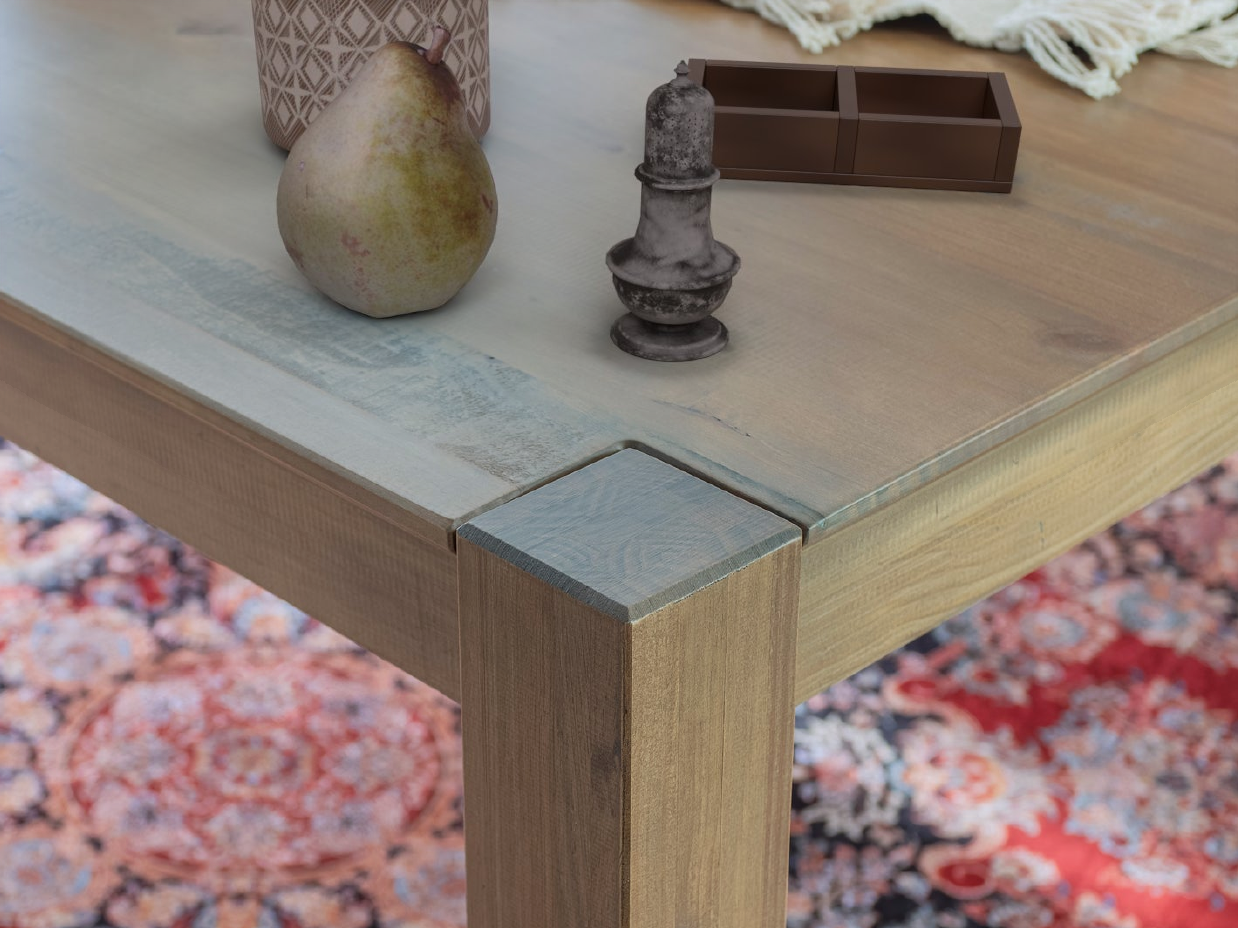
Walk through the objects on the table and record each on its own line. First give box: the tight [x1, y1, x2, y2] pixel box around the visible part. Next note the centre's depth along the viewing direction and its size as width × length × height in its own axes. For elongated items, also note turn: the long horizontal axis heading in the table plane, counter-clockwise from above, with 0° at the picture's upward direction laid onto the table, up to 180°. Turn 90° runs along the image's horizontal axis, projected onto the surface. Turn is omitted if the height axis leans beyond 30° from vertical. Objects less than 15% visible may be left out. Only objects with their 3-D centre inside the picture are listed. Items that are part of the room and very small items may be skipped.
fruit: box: [276, 25, 499, 319], centre depth 73 cm, size 10×9×12 cm
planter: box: [250, 0, 491, 152], centre depth 91 cm, size 13×13×10 cm
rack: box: [687, 57, 1023, 194], centre depth 92 cm, size 18×10×4 cm, turn 84°
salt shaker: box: [604, 59, 742, 362], centre depth 70 cm, size 6×6×12 cm
